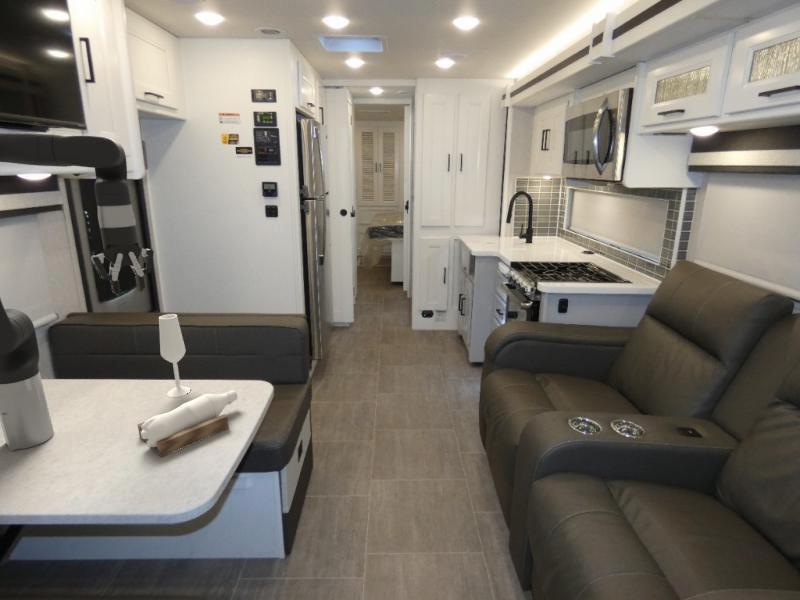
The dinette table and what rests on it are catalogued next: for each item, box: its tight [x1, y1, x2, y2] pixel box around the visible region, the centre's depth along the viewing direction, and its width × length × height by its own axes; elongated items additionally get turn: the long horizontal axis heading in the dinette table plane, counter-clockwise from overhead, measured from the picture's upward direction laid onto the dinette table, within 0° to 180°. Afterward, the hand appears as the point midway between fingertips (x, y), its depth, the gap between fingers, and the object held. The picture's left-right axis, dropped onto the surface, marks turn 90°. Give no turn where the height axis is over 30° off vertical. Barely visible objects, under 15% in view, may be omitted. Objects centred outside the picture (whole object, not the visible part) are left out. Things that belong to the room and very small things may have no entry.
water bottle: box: [141, 389, 238, 448], centre depth 121 cm, size 7×7×25 cm
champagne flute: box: [158, 313, 191, 398], centre depth 139 cm, size 7×7×24 cm
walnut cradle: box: [137, 413, 230, 458], centre depth 120 cm, size 17×13×4 cm
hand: (129, 292), depth 118 cm, fingers open, 4 cm apart
